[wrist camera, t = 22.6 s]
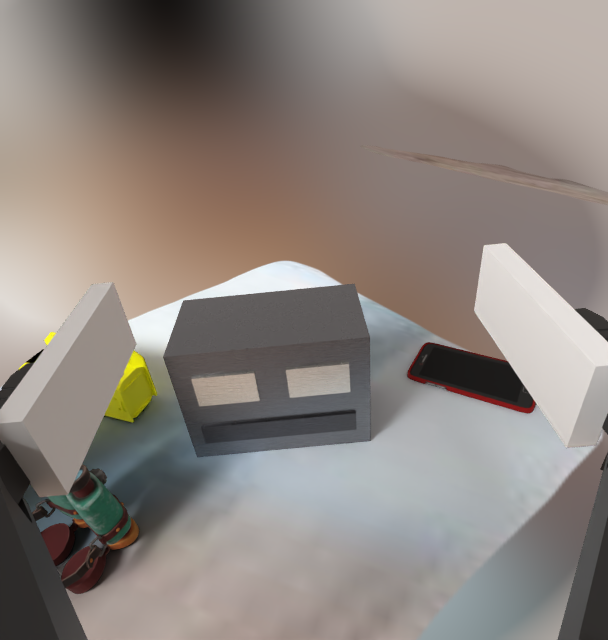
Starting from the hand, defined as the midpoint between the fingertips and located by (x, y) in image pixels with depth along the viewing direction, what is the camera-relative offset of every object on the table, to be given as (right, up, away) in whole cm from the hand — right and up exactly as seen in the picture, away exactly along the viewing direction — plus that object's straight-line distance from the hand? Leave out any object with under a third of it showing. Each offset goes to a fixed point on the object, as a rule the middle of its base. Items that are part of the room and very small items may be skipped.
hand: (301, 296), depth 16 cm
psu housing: (-2, -12, +36) cm, 38 cm away
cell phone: (+21, -8, +39) cm, 46 cm away
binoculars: (-20, -22, +24) cm, 39 cm away
